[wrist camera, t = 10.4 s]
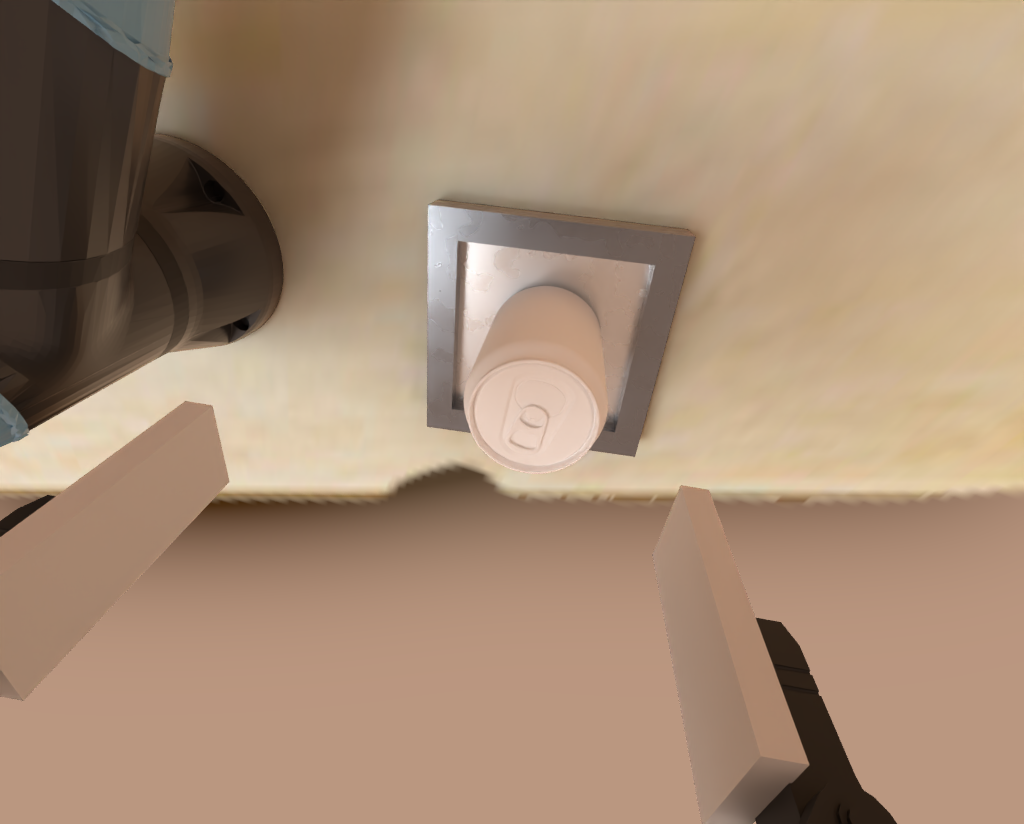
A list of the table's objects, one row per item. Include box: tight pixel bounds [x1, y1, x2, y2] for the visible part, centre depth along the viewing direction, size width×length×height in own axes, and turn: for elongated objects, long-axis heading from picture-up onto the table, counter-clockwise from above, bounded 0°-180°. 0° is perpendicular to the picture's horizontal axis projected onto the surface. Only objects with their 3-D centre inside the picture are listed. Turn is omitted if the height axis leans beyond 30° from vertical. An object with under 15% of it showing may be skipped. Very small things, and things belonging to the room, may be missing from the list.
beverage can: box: [464, 286, 608, 474], centre depth 31 cm, size 8×8×12 cm
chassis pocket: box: [427, 200, 695, 457], centre depth 36 cm, size 17×17×2 cm
